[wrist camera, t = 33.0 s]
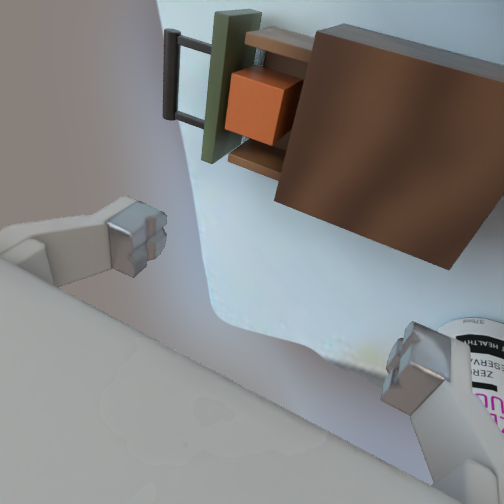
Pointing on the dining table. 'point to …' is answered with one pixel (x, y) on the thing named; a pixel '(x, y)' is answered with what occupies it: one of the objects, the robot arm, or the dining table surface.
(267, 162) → the drawer
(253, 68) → the block
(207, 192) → the dining table surface
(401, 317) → the dining table surface
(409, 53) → the cabinet
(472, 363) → the supplement can
